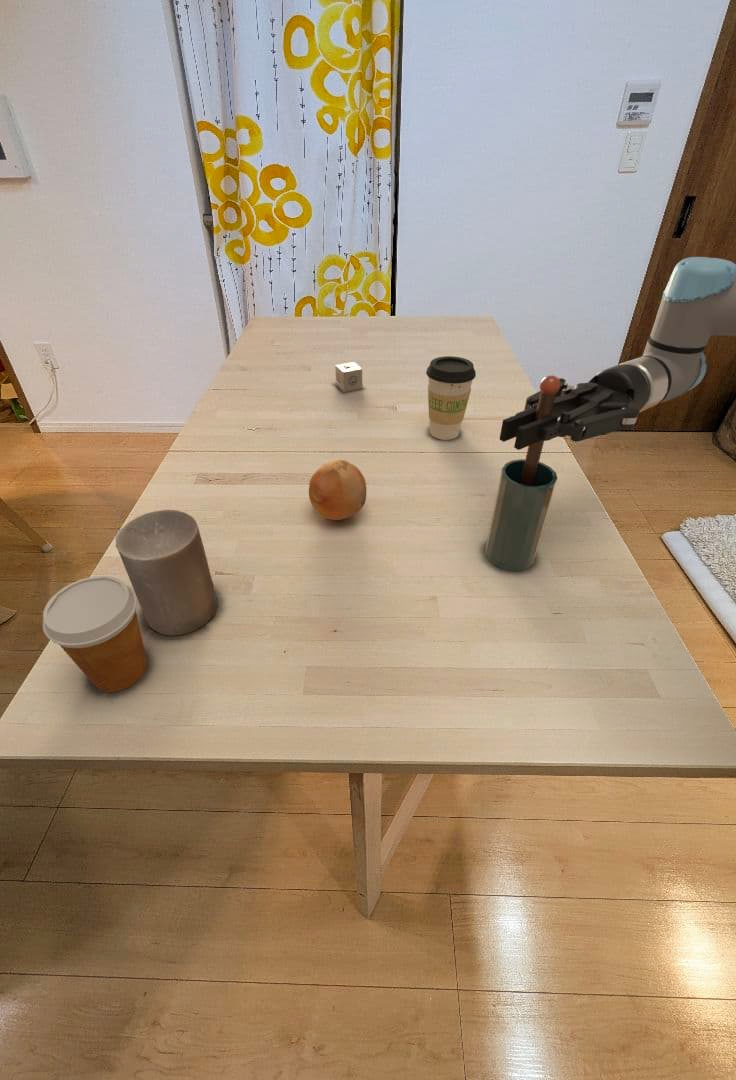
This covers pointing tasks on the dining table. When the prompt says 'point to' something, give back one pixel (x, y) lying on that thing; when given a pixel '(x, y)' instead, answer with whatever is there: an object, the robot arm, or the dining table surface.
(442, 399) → the coffee cup
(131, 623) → the disposable coffee cup
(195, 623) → the pillar candle
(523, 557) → the green cylindrical holder
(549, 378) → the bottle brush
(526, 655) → the dining table surface
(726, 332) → the robot arm
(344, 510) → the onion
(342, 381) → the dice cube
